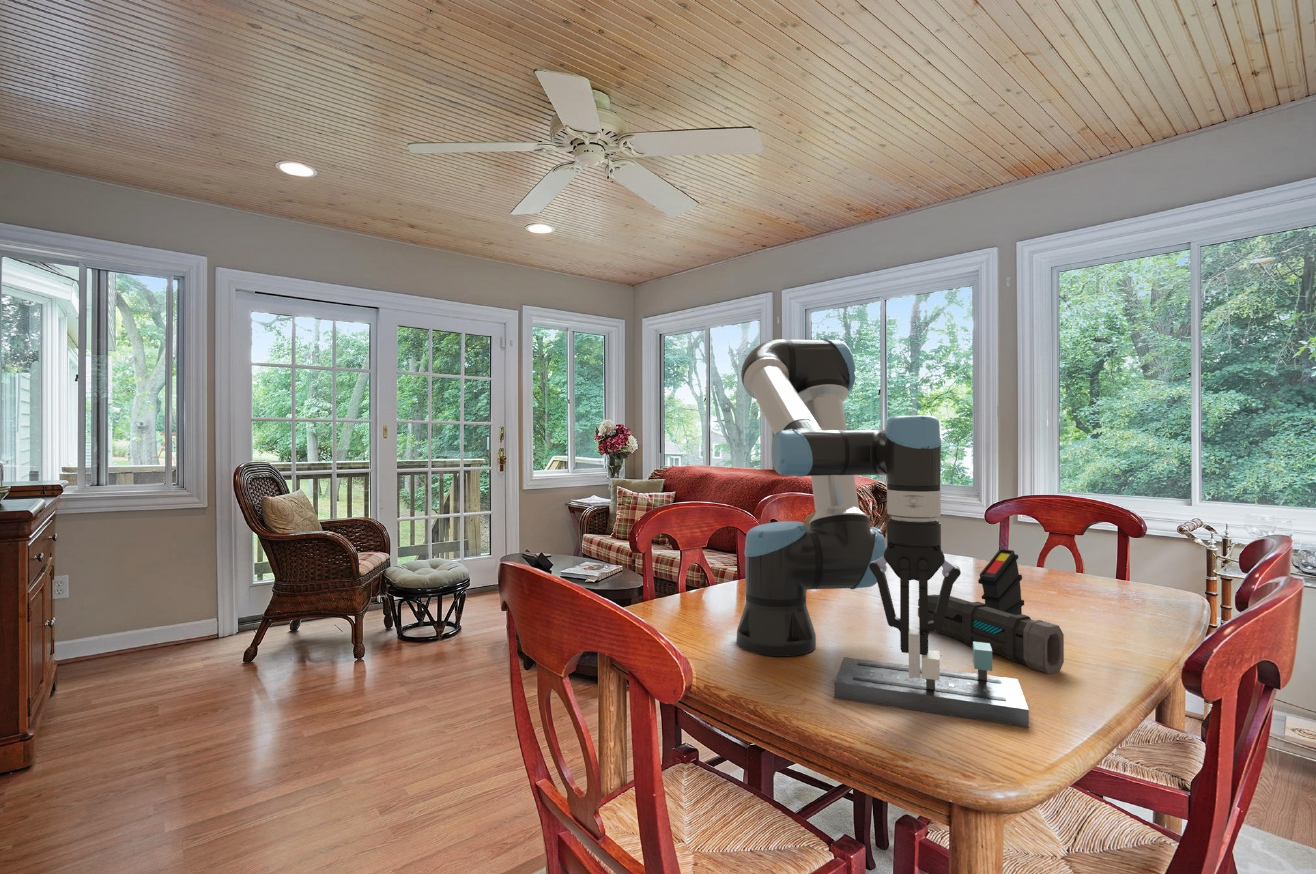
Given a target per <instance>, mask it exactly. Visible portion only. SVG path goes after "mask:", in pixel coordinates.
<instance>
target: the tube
mask: <svg viewBox="0 0 1316 874" xmlns="http://www.w3.org/2000/svg"><path fill="white" fill-rule="evenodd" d="M938 598H939V594H928V621H932V620H933V617H934V613H935V609H936V606H937V602H938ZM917 606H918V607H917V617H918V618H919V598H918V600H917ZM936 632H937V633H940V634H942V635H945V636H947V637H951V638H954V639H957V640H958V641H962V642H964V643H965V644H966V645H967V646H969V647H972V648H973V642H982V643H990V646H991V649H992V653H994V654H997V655H999V656H1002V657H1005V658H1007V659H1008V660H1009V662H1012V663H1016V664H1019V663H1020V664H1022V665H1023V664H1024V665H1026V666H1027V668H1030V669H1033V670H1036V671H1038V672H1041V673H1043V674H1047V675H1050V674H1056V673H1060V672H1061V670H1062V667H1063V665H1064V661H1065V659H1064V658H1065V647H1064V644H1065V641H1064V640H1065V637H1064V636H1065V635H1064V634H1065V633H1063V630H1062V629H1061V627H1060V626H1059V625H1058V624H1055V623H1051V622H1049V621H1044V620H1042V619H1035V620H1033V619H1031V617H1030V616H1029V615H1026V614H1023V613H1022V614H1019V615H1014V614H1010V613H1007V612H1003V611H1000V610H997V609H993V608H990V607H988V606H987V604H985V602H981V601H969V600H965V599H962V598H959V597H955V596H952V595H950V598H949V602H948V605H947V609H946V613H945V617H944V621H943V624H942V628H941V630H940V631H936Z"/></svg>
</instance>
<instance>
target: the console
mask: <svg viewBox="0 0 1316 874" xmlns="http://www.w3.org/2000/svg"><path fill="white" fill-rule="evenodd" d="M833 683H834V684H833V685H834V686H833V687H834V690H833V692H834V693H833V695H834V696H833V697H834V699H838V700H845V701H852V702H857V703H863V704H871V705H876V706H877V705H878V706H884V707H890V708H897V709H903V710H904V709H905V710H910V711H917V712H923V713H929V714H935V715H936V714H937V715H943V716H949V717H956V718H963V719H969V720H976V721H982V722H987V723H988V722H989V723H995V724H1001V725H1008V726H1014V727H1021V728H1028V729H1029V727H1030V713H1029V712H1030V709H1029V707H1028V704H1027V701H1026V698H1025V696H1024V694H1023V690H1022V687H1021V684H1020V682H1019V680H1018V678H1011V677H1007V676H1006V677H1004V676H997V675H996V676H995V675H989V674H987V680H982V679H978V673H975V672H974V673H973V672H966V671H956V670H950V669H942V668H940V680H935V690H934V689H927V688H926V679H925V678H922V666H920V679H918V678H915V667H914V678H911V677H909V664H904V663H903V664H902V663H894V662H887V661H879V660H871V659H864V658H863V659H862V658H861V659H860V658H856V657H848V656H843V659H842V661H841V664H840V666H839V668H838V670H837V674H836V677H835V679H834V680H833Z"/></svg>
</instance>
